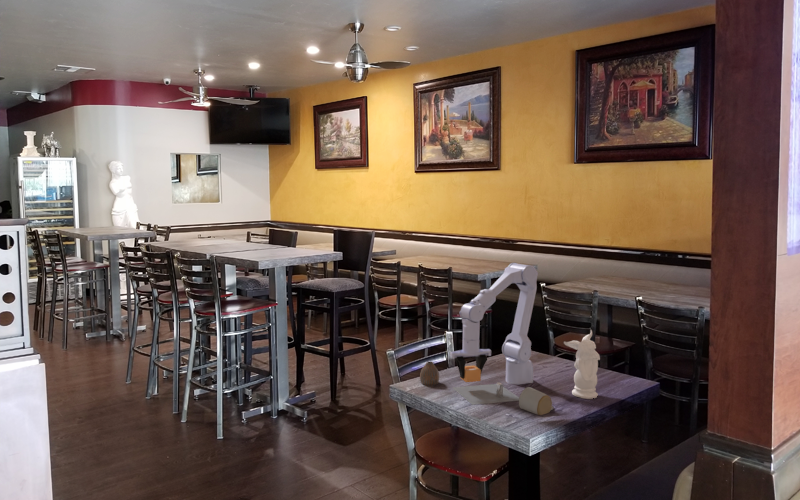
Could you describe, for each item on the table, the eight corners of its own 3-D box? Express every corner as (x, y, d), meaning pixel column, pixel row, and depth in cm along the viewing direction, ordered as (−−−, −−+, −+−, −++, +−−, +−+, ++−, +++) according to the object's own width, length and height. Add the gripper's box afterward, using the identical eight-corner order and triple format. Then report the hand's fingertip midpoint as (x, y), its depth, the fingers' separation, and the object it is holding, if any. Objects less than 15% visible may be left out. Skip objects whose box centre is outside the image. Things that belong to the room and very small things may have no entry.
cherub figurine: (592, 402, 207) (595, 338, 204) (556, 395, 214) (558, 333, 211) (602, 392, 217) (604, 330, 215) (567, 385, 224) (569, 326, 221)
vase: (437, 390, 218) (438, 365, 217) (418, 388, 219) (418, 364, 218) (440, 384, 224) (440, 360, 224) (421, 382, 226) (421, 359, 225)
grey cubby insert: (499, 395, 209) (500, 382, 208) (502, 397, 207) (503, 384, 206) (496, 395, 208) (496, 382, 208) (499, 397, 206) (499, 384, 206)
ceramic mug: (538, 420, 190) (539, 395, 189) (517, 412, 196) (518, 388, 195) (559, 413, 196) (560, 389, 196) (539, 406, 203) (540, 383, 202)
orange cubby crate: (474, 376, 217) (474, 364, 217) (480, 381, 212) (480, 369, 212) (460, 377, 216) (460, 366, 215) (465, 382, 210) (466, 370, 210)
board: (499, 386, 222) (499, 383, 222) (522, 403, 205) (522, 400, 204) (452, 390, 217) (452, 387, 217) (472, 408, 199) (472, 404, 199)
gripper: (485, 334, 218) (484, 372, 220) (447, 337, 214) (446, 375, 216) (494, 339, 212) (493, 377, 213) (454, 341, 207) (453, 381, 209)
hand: (470, 377), depth 214 cm, fingers closed on orange cubby crate, 5 cm apart
